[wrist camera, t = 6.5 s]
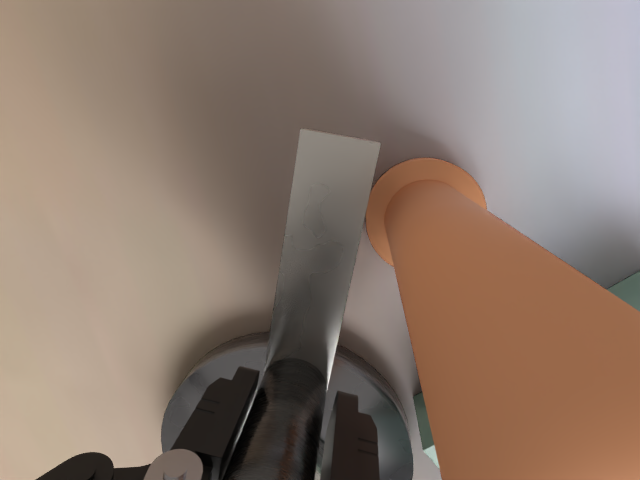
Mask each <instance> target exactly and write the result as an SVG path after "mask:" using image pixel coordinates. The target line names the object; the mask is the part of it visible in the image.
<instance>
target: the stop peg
mask: <svg viewBox="0 0 640 480" xmlns="http://www.w3.org/2000/svg"><path fill="white" fill-rule="evenodd" d="M366 228H367V233H368V237H369V240H370V242H371V244H372V246H373V248H374V249H375V251H376V252H377V253H378V255H379V256H380V257H381V258H382V259H383V260H384V261H386V262H387V263H388V264H390V265H391V266H393V267H394V269H395V274H396V278H397V282H398V287H399V291H400V296H401V300H402V304H403V309H404V313H405V318H406V322H407V327H408V331H409V335H410V340H411V344H412V349H413V353H414V357H415V362H416V366H417V371H418V375H419V380H420V384H421V388H422V393H423V397H424V402H425V406H426V410H427V415H428V419H429V424H430V428H431V433H432V437H433V441H434V446H435V450H436V455H437V459H438V463H439V468H440V472H441V477H442V480H640V312H639V311H638V310H636V309H635V308H633V307H632V306H630V305H629V304H627V303H626V302H624V301H623V300H621V299H620V298H618V297H617V296H615V295H614V294H612V293H611V292H609V291H608V290H606V289H605V288H603V287H602V286H600V285H599V284H597V283H596V282H594V281H593V280H591V279H590V278H588V277H587V276H585V275H584V274H582V273H581V272H579V271H578V270H576V269H575V268H573V267H572V266H570V265H569V264H567V263H566V262H564V261H563V260H561V259H560V258H558V257H557V256H555V255H554V254H552V253H551V252H549V251H548V250H546V249H545V248H543V247H542V246H540V245H539V244H537V243H535V242H534V241H532V240H531V239H529V238H528V237H526V236H525V235H523V234H522V233H520V232H519V231H517V230H516V229H514V228H513V227H511V226H510V225H508V224H507V223H505V222H504V221H502V220H501V219H499V218H498V217H496V216H495V215H493V214H492V213H490V212H489V211H487V208H486V202H485V198H484V195H483V193H482V190H481V189H480V187H479V185H478V184H477V182H476V181H475V180H474V179H473V177H472V176H470V175H469V174H468V173H467V172H466V171H464V170H463V169H461V168H460V167H458V166H456V165H454V164H451V163H449V162H446V161H443V160H440V159H435V158H415V159H410V160H407V161H404V162H401V163H399V164H397V165H395V166H394V167H392V168H391V169H389V170H388V171H387V172H385V173H384V174H383V175H382V176H381V177H380V178H379V180H378V181H377V182H376V184H375V185H374V187H373V188H372V190H371V192H370V196H369V201H368V205H367V210H366Z"/></svg>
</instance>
